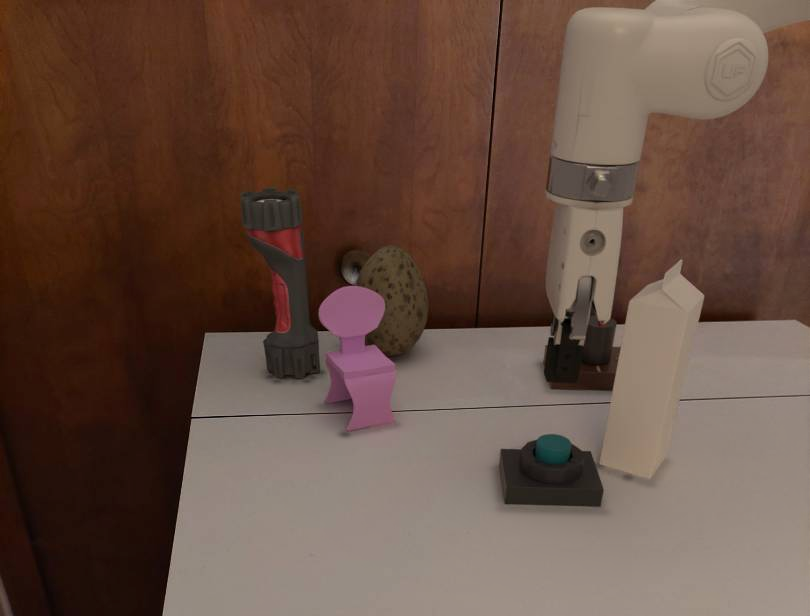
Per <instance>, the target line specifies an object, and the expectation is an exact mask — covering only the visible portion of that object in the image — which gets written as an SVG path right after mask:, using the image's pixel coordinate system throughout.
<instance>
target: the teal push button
mask: <svg viewBox="0 0 810 616" xmlns="http://www.w3.org/2000/svg"><path fill="white" fill-rule="evenodd" d="M536 440H537V443H536V451H535V457H536V458H537V459H538V460H540V461H543V462H546V463H551V464H561V463H564V462H567V461H568V460H569V457H570V451H571V444H572V441H571V440H570V439H569V438H568V437H566V436H564V435H561V434H556V433H547V434H542V435H540V436H539V437H537V439H536Z"/></svg>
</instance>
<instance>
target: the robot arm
mask: <svg viewBox="0 0 810 616" xmlns="http://www.w3.org/2000/svg"><path fill="white" fill-rule="evenodd" d="M807 21H810V0H654V1H652V2H651V3H650V4H649V5H648V6H646V8H644V9H640V8H627V7H608V6H607V7H603V6H602V7H601V6H599V7H598V6H595V7H593V6H592V7H586V8H585V7H584V8H582V9H579V10H577V11H576V12H574V14H572V16H571V17H570V18H569V21H568V22H567V25H566V28H565V34H564V40H563V47H562V57H561V62H560V63H561V65H560V71H559V81H558V87H557V96H556V102H555V103H556V105H555V113H554V121H553V128H552V137H551V144H550V154H549V160H548V166H547V175H546V181H545V183H546V184H545V191H544V197H545V198H546V199H547V200H549V201H551V202H553V203H555V206H554V211H553V220H552V225H551V231H550V239H549V246H548V254H547V262H546V270H545V271H546V273H545V293H546V296H547V298H548V299H547V300H548V302H549V306H550V307H551V310H552V311H551V312H552V314H551V321H550V331H549V333H550V334H549V335H550V336H548V338H547V344H546V345H547V352H546V359H545V365H543V366H544V367H543V375H544V379H545V381H546V382H547V383H550V382H554V383H576V382H577V381H578V378H579V372H580V366H581V360H582V354H583V349H584V341H585V338H586V332H587V327H588V322H589V317H590V316H591V311H593V313H594V316H596V317H597V319H598V321H600V322H601V323H602V324H605V323H607V322H608V321H609V320H610V318H611V317H612V311H613V305H614V297H615V291H616V285H617V284H616V283H617V276H618V269H619V261H620V253H621V247H622V236H623V222H624V208H626V207H628V206H630V205H632V204H633V201H634V195H635V190H636V185H637V180H638V173H639V169H640V163H641V157H642V152H643V148H644V147H643V146H644V142H645V136H646V131H647V126H648V120H649V115H650V114H655V113H657V114H662V115H663V114H665V115H670V116H677V117H682V118H686V119H693V120H704V121H705V120H714V119H719V118H721V117H725V116H728V115H730V114H732V113H733V112H735V111H736V112H737V110H739V109H740V108H742V107H743V106H744V105H745V104H747V103H748V102H749V101H750V100H751V99H752V98H753V96H754V95H756V93H757V91H758V90H759V89H760V87H761V86H762V84H763V81H764V79H765V77H766V74H767V70H768V65H769V56H770V55H769V46H768V43H767V40H766V36H765V33H769V32H771V31H774V30H777V29H780V28H783V27H786V26H790V25H795V24H797V23H803V22H807Z"/></svg>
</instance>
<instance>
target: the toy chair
mask: <svg viewBox="0 0 810 616" xmlns="http://www.w3.org/2000/svg"><path fill="white" fill-rule="evenodd" d="M384 311H385V302H384V299H383V298H382V296H380V295H379V294H378V293H376V292H374V291H372V290H370V289H367V288H364V287H359V286H355V285H347V286H343V287H340V288H338V289H336V290H334V291H333V292H332V293H330V294H329V295H328V296H327V297H326V298H325V299H324V300H322V303H321V304H320V306H319V308H318V313H317V315H318V320H319V322H320V324H321V325H322V326H323V327H324V328H325V329H326V330H328V331H329V332H330V333H331V335H333V336H336V337H338V338H339V339H338V340H339V350H332V351H325V359H324V362H325V366H326V368H327V370H328V373H329V376H330V384H329V388H328V391H327V393H326V396H325V397H324V400H323V403H324V404H330V403H337V402H342V401H347V400H351V401H352V405H353V409H352V415H351V417H350V420H349V422H348V424H347V426H346V429H345V431H346V432H350V431H351V432H352V431H356V430H361V429H366V428H370V427H375V426H381V425H385V424H390V423H391V424H392V423H395V422H396V420H395V418H394V414H393V412H392V404H391V403H392V402H391V400H392V395H393V390H394V387H395V385H396V384H395V383H396V381H397V374H396V364H395V363H394V361H392V360H391V359H390V358H388V356H385V355H384V354H383V353H382V352H381V351H380V350H379V349H378V348H377V347H376V346H375V345H370V346H365V335H366V334H368V333H369V332H371V331H373V330H374V329H376V328H377V327H378V325H379V323H380V321H381V319H382V317H383V314H384Z"/></svg>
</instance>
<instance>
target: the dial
mask: <svg viewBox="0 0 810 616" xmlns="http://www.w3.org/2000/svg"><path fill="white" fill-rule="evenodd" d="M617 324H618V323H617V321H616V319H614V318H610V320H609V321H608V322H607V323H605V324H602V323H601V322H600V321H598V319H597V317H596V315H590V317H589V322H588V327H587V332H586V338H585V341H584V349H583V354H582V360H581V361H582V362H584V363H587V364H592V365H602V364H606V363H608V362H609V361H610V359H611V353H612V347H614V341H615V336H616V330H617Z"/></svg>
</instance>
